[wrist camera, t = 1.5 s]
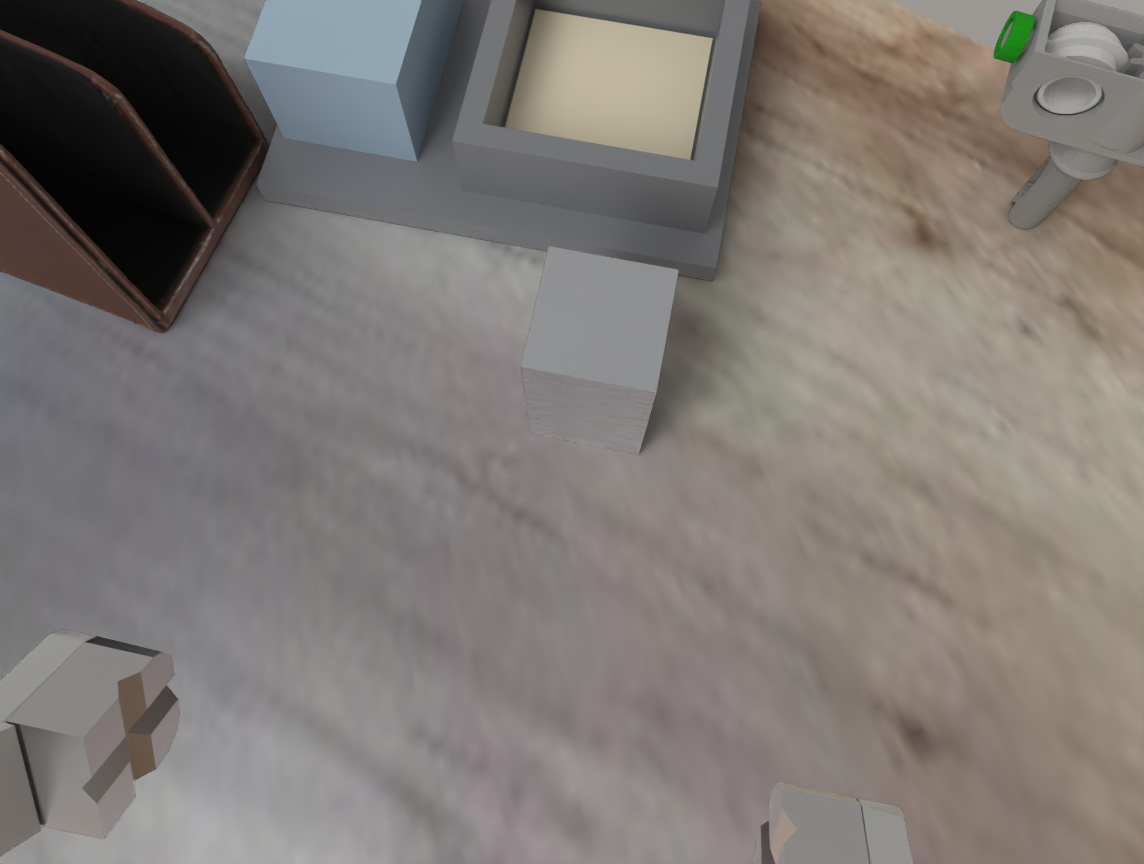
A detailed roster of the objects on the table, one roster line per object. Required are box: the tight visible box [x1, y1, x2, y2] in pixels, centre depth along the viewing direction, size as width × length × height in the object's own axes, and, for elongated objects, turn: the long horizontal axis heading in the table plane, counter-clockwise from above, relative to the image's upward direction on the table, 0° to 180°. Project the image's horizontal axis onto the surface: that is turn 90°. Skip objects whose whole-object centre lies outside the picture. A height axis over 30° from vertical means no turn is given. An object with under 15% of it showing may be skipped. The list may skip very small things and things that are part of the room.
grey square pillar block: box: [521, 246, 679, 455], centre depth 33 cm, size 4×4×8 cm
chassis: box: [244, 0, 761, 281], centre depth 38 cm, size 20×14×6 cm
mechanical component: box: [994, 0, 1144, 229], centre depth 34 cm, size 3×10×10 cm, turn 71°
